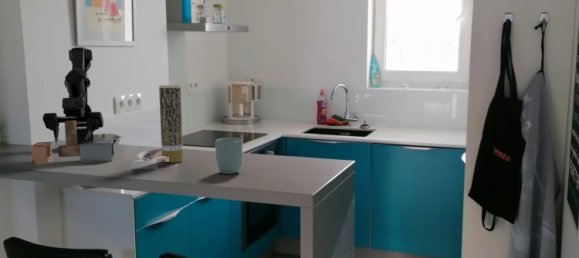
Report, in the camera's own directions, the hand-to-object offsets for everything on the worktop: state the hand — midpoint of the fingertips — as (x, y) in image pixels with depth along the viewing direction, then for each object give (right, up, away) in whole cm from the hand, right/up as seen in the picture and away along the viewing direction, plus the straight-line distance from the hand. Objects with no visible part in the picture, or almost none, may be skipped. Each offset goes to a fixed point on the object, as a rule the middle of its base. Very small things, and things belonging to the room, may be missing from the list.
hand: (70, 140), depth 191 cm
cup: (+54, -10, -18) cm, 58 cm away
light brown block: (-10, -7, +1) cm, 12 cm away
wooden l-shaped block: (+4, -5, +3) cm, 7 cm away
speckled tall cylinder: (+34, -7, 0) cm, 34 cm away
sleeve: (+8, -7, +3) cm, 11 cm away
